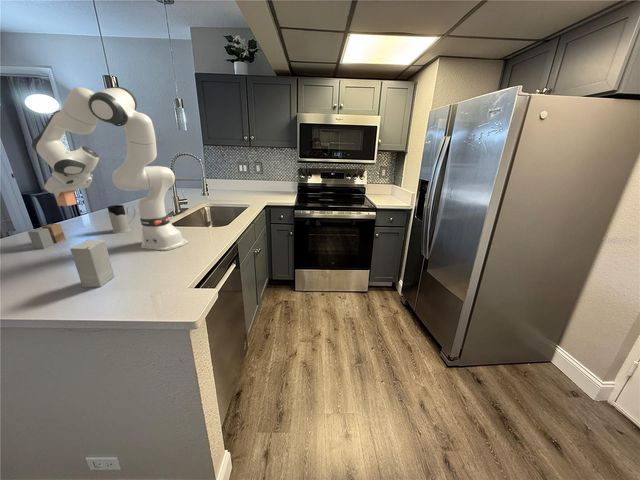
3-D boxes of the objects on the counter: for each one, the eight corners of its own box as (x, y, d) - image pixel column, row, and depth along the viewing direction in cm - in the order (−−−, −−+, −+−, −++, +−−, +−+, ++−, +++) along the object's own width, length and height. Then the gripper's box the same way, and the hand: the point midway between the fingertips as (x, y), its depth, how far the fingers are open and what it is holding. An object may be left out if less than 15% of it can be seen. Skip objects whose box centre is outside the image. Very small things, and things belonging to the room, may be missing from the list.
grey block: (54, 245, 132) (48, 228, 129) (44, 248, 127) (37, 231, 124) (44, 245, 132) (38, 228, 129) (34, 248, 127) (27, 231, 124)
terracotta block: (76, 203, 134) (71, 186, 131) (67, 205, 130) (61, 187, 126) (67, 203, 134) (62, 186, 131) (58, 205, 130) (51, 187, 127)
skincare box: (97, 277, 101) (85, 239, 95) (117, 276, 101) (106, 238, 96) (80, 288, 93) (66, 247, 87) (102, 287, 93) (89, 247, 88)
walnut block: (65, 239, 139) (60, 223, 136) (56, 243, 135) (50, 226, 132) (56, 239, 139) (50, 223, 136) (47, 243, 135) (41, 226, 132)
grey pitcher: (109, 231, 153) (102, 207, 148) (135, 225, 165) (129, 202, 160) (117, 234, 149) (110, 208, 144) (143, 227, 161) (137, 204, 156)
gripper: (88, 168, 136) (76, 187, 139) (48, 172, 116) (35, 193, 120) (99, 177, 137) (87, 195, 141) (61, 182, 118) (48, 203, 121)
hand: (63, 194), depth 130 cm, fingers closed on terracotta block, 5 cm apart
